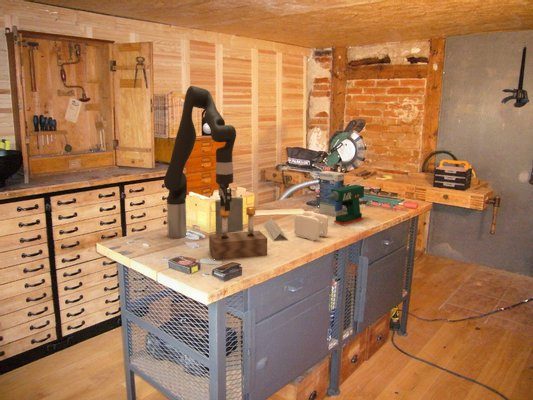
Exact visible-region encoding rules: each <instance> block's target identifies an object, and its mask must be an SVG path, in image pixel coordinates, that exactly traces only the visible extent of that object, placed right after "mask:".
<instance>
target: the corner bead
mask: <svg viewBox="0 0 533 400" xmlns="http://www.w3.org/2000/svg"><path fill="white" fill-rule="evenodd" d="M263 226H264V229H265V230H266V232H267V234H268V235H269V238H271V240H272V242H274V240H276V239H277V238H278V237H279V236H280V235H282V236H283V238H285V239H286V240H287V241H289V239H288V237H287V236H286V234H285V233H284V232H283V230H282V229H281V228H280V226H279V225H278V223H277V222H276V221H274V220H273V219H272V217H271V216H270V217H269V219H268V220H266V221H265V222H264V223H263Z"/></svg>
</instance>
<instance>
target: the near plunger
mask: <svg viewBox="0 0 533 400" xmlns="http://www.w3.org/2000/svg"><path fill="white" fill-rule="evenodd" d="M220 217H222V239H228V233H229V232H228V220H227V217H229V211H225V208H223V209H220Z"/></svg>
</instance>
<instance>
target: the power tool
mask: <svg viewBox="0 0 533 400" xmlns="http://www.w3.org/2000/svg"><path fill="white" fill-rule="evenodd" d="M364 197H365V186H364V185H360V184H352V185H346V186H344V187H340V188H335V189H331V193H330V194H329V196H327V197H325V199H330V200H331V201H335V202H339V203H340V202H342V205H343V207H344V206H345V208H346V213H342V215H339V216H336V217H335V219H334V220H333V223H334V224H338V225H341V226H345V225H348V224H352V223H355V222H359V221H363V220H364V218H363V216H362V215H363V213H362V212H361V206H360V199H362V198H364Z"/></svg>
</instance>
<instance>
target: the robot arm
mask: <svg viewBox="0 0 533 400" xmlns="http://www.w3.org/2000/svg"><path fill="white" fill-rule="evenodd" d="M194 108H196V109H203V110H204V121H205V123H206V124H207V125H208V128H209V130H210V135H211V137H210V138H211V139H212V140H213V142H215V143H225V144H224V145H223V146H221V147H218V148H216V150H215V183H216V184H218V196H219V200H220V206H225V211H230V202H232V198H231V197H232V196H231V194H232V187H230V186H229V185H230V184H233V183H234V164H233V151H234V146H235V142H236V140H237V139H236V138H237V130H236V127H234V125H231V124H229V125H227V124H226V122H225V120H224V118H223V116H222V115H221V114H220V112H219V111H218V109H217V107H216V104H215V101H214V98H213V96H212V94H211V93H210V91H209V90H208V89H206V88H203V87H202V88H201V87H199V86H195V85H190V86H189V87H188V88H187V90H186V91H185V96H184V100H183V106H182V112H181V118H180V122H179V125H178V129H177V133H176V137H175V139H174V144H173V148H172V154H171V157H170V161H169V164H168V167H167V170H166V173H165V175H164V178H163V185H164V187H165V188H166V189H167V190H168V195H167V196H166V207H167V208H166V212H167V213H166V215H167V217H166V221H167V222H166V223H167V225H166V226H167V228H166V229H167V236H168V238H169V239H171V238H172V239H181V238H184V237H186V236H187V235H186V233H188V231H187V207H186V206H187V205H186V204H187V203H186V202H187V201H186V199H187V194H188V190H187V189H188V187H187V186H188V185H187V182H188V180H187V176H186V174H185V172H184V171H185V170H184V169H185V166H186V163H187V162H188V160H189V158H190V156H191V154H192V152H193V150H194V147H195V143H196V140H197V131H196V127H195V124H194V121H193V109H194ZM227 198H228V199H227Z"/></svg>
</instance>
